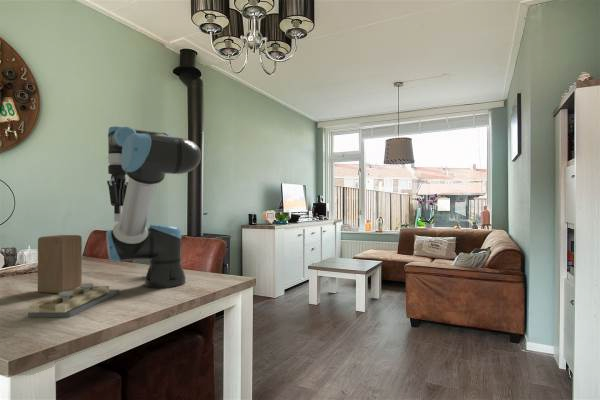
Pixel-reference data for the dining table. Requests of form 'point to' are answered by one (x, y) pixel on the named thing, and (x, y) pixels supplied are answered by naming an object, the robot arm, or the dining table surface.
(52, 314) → the boss board
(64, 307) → the panel
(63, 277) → the wooden block
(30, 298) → the dining table surface
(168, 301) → the dining table surface
